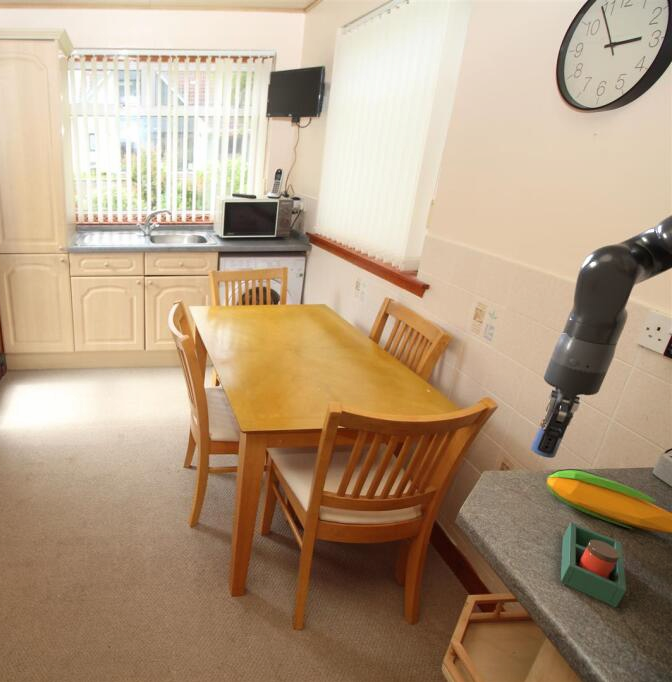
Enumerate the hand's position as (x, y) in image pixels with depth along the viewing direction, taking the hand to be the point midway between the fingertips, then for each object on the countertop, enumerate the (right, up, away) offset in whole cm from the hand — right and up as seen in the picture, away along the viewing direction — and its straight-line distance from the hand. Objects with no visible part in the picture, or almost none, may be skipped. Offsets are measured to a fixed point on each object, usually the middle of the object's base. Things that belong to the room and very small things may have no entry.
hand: (545, 446), depth 87 cm
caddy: (-1, -18, -10) cm, 21 cm away
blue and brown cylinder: (0, -1, 0) cm, 1 cm away
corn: (+13, -14, +2) cm, 19 cm away
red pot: (-3, -18, -13) cm, 22 cm away
